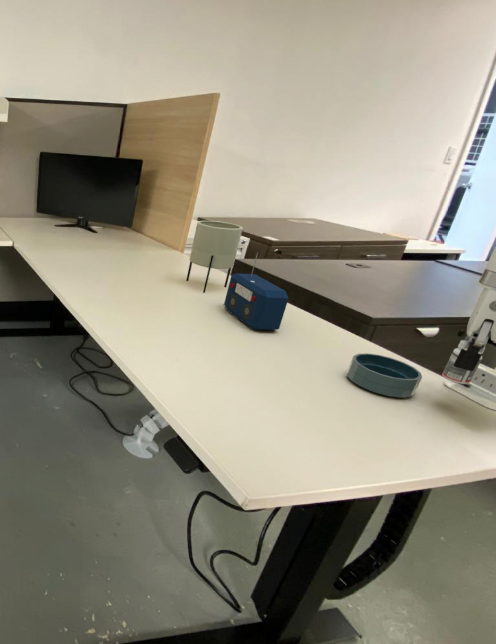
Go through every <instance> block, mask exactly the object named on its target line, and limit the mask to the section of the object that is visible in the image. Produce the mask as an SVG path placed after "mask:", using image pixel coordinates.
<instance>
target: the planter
mask: <svg viewBox="0 0 496 644" xmlns="http://www.w3.org/2000/svg"><path fill="white" fill-rule="evenodd" d="M243 229H244V228H243V226H241V225H239V224H236V223H231V222H226V221H218V220H199V221H197V223H196V227H195V232H194V236H193V237H194V238H193V241H192V246H191V252H190V256H189V266H188V270H187V275H186V280H185V281H186V282H189V279H190V275H191V271H192V266H193V264H194V265H197V266H199V267H204V268H208V269H207V273H206V278H205V281H204V282H205V283H204V286H203V291H202V293H203V294H205V293H206V289H207V286H208V282H209V278H210V272H211V269H214V270H215V269H217V270H227V269H228V270H227V274H226V278H225V282H224V285H223V287H224V288H228V287H227V286H228V284H229V280H230V276H231V275H230V274H231V271H232V268H233V267H234V265H235V260H236V258H237V257H236V256H237V252H238V248H239V246H240V240H241V237H242V233H243Z"/></svg>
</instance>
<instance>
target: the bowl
mask: <svg viewBox="0 0 496 644" xmlns="http://www.w3.org/2000/svg"><path fill="white" fill-rule="evenodd" d="M346 377H347V378H349V380H350V382H353V383H354V384H356V385H358V386H359V387H361V388H363V389H365V390H367V391H370V392H372V393H375V394H378V395H382V396H386V397H393V398H411V397H412V396H414V394H415V393H416V391H417V389H418V387H419V385H420V383H421V381H422V379H423V376H422V372H420V371H419V370H418V369H417V368H415V367H414V366H412V365H410V364H408V363H406V362H404V361H402V360H398V359H396V358H394V357H393V358H392V357H390V356H384V355H381V354H376V353H367V352H365V353H357V354H355V355H353V356H352V358H351V360H350V364H349V366H348V368H347V371H346Z"/></svg>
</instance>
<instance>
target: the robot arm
mask: <svg viewBox="0 0 496 644" xmlns="http://www.w3.org/2000/svg"><path fill="white" fill-rule="evenodd" d="M477 285H478V286H479V287H480V288H483V289H482V290H481V293H480V295H479V297H478V299H477V301H476V303H475V305H474V307H473V309H472V312H471V314H470V316H469V319H468V322H467V325H466V335H465V337H464V339H463V340H467V343H466V345H465V347H464V349H461V351H460V353H459V355H458V357H457V359H456V361H455V363H454V366H455V367H457V368H461V369H464V370H468V371H473V370H474V369H475V367H476V365H477V363H478V361H479V359H480V357H481V356H482V357H483V353H484V352H483V350H484V348H485V349H486V345H487V343H488V341H489V340H491V341H492V343H494V344H496V246H495V247H494V250H493V252H492V253H491V256H490V257H489V260H488V262H487V263H486V266H485V268H484V270H483V272H482V274H481V276H480V278H479V280H478V282H477ZM471 341H472V342H471ZM484 351H485V350H484ZM482 352H483V353H482Z"/></svg>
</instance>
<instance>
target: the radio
mask: <svg viewBox="0 0 496 644" xmlns="http://www.w3.org/2000/svg"><path fill="white" fill-rule="evenodd" d="M255 255H256V256H255V259H254V262H253V266H252V271H251V273H233V274H232V275H230V278H229V282H228V285H227V286H228V287H227V291H226V293H225V294H226V295H225V299H224V303H223V305H224V307H225V310H226V311H227V312H229V313H230V314H231V315H233V316H234V317H235V318H236V319H238V320H239V321H240V322H242V323H243V324H245V326H247V327H248V328H249V329H251V330H252V331H276V330H280V327H281V325H282V321H283V318H284V314H285V311H286V308H287V305H288V302H289V296H288V293H287V292H286V290H284V289H283V288H281V287H279V286H277V285H275V284H274V283H272V282H271V281H269V280H266V279H265V278H262V276H260V275H258V274H256V273H254V270H255V265H256V262H257V258H258V255H259V252H258V251H257V252H256V254H255Z"/></svg>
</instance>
